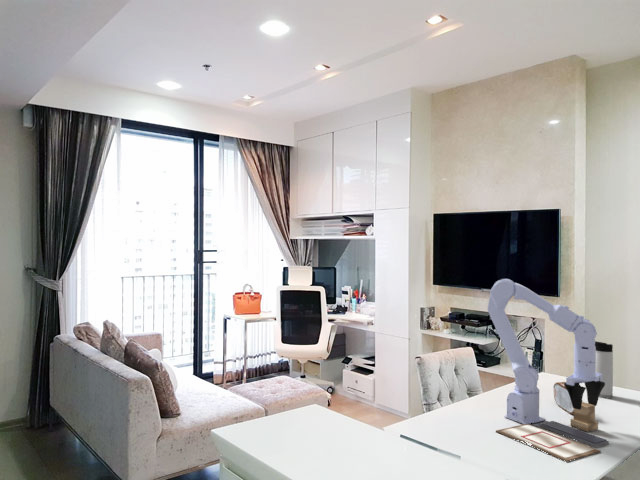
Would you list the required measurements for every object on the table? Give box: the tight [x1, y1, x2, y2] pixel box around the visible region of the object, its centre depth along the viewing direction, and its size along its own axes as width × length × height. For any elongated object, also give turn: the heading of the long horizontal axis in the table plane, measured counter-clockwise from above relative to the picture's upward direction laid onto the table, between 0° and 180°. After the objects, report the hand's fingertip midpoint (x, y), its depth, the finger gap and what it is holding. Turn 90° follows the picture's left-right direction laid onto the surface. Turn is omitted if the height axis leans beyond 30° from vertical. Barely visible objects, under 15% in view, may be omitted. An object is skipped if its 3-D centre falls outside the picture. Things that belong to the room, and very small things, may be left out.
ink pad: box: [539, 420, 610, 449], centre depth 136 cm, size 6×17×1 cm, turn 28°
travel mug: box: [595, 340, 614, 399], centre depth 176 cm, size 6×7×20 cm
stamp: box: [570, 401, 599, 433], centre depth 142 cm, size 5×5×7 cm
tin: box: [553, 381, 574, 415], centre depth 159 cm, size 15×3×8 cm, turn 179°
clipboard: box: [495, 424, 602, 462], centre depth 131 cm, size 14×22×1 cm, turn 28°
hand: (584, 406), depth 142 cm, fingers open, 7 cm apart
